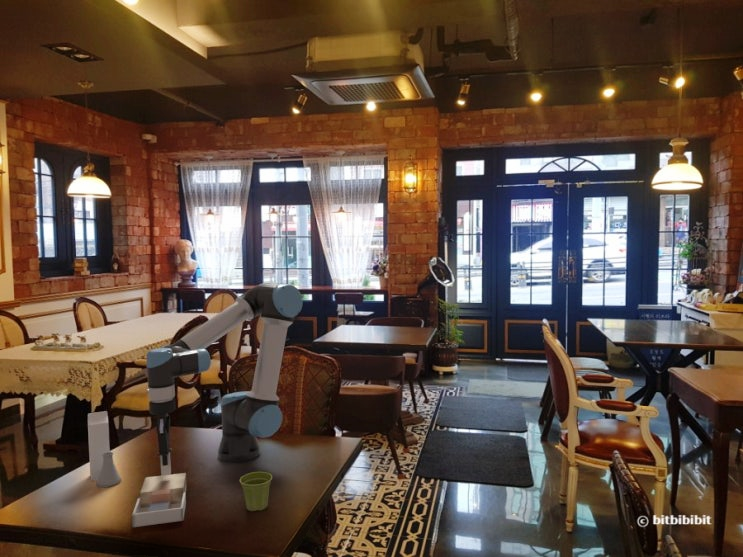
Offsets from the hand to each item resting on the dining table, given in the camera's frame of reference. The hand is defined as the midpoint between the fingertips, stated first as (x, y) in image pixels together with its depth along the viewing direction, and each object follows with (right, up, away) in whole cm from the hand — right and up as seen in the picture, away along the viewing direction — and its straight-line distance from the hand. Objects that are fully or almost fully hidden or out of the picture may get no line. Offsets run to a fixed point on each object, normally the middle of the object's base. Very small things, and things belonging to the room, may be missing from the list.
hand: (166, 474), depth 172 cm
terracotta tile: (+2, -4, -9) cm, 10 cm away
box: (+3, -7, -13) cm, 15 cm away
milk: (-28, -7, +16) cm, 33 cm away
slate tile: (+4, -4, -15) cm, 16 cm away
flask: (-23, -7, +10) cm, 26 cm away
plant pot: (+30, -7, -9) cm, 32 cm away
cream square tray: (0, -7, -2) cm, 7 cm away
